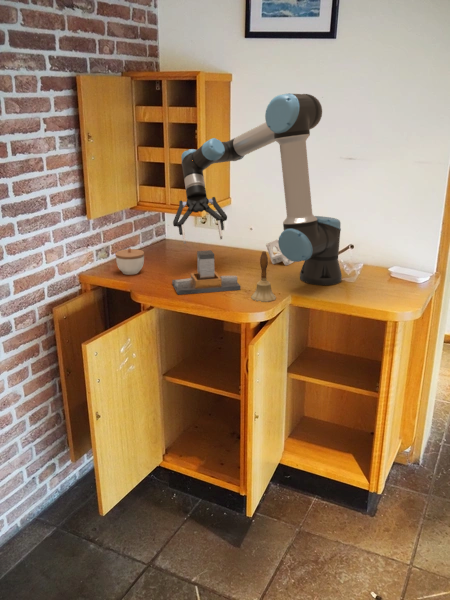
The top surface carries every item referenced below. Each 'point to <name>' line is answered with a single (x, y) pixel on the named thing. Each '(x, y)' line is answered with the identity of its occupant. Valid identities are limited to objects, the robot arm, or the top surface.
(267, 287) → the hand bell
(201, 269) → the block
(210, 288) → the base
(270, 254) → the mounting bracket
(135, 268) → the lidded jar
